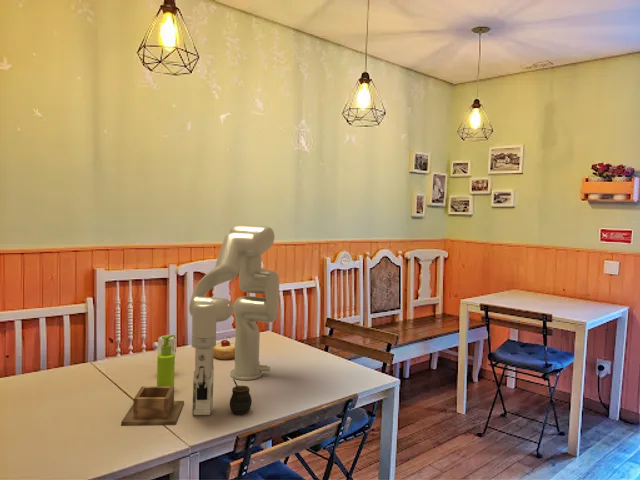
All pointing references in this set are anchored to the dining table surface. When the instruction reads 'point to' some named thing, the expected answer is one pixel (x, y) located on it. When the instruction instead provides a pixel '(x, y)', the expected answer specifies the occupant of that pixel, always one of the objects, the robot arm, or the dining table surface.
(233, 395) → the mate gourd
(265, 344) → the dining table surface
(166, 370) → the soap dispenser
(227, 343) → the pastry
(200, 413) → the syrup box
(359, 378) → the dining table surface
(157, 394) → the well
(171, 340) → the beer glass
